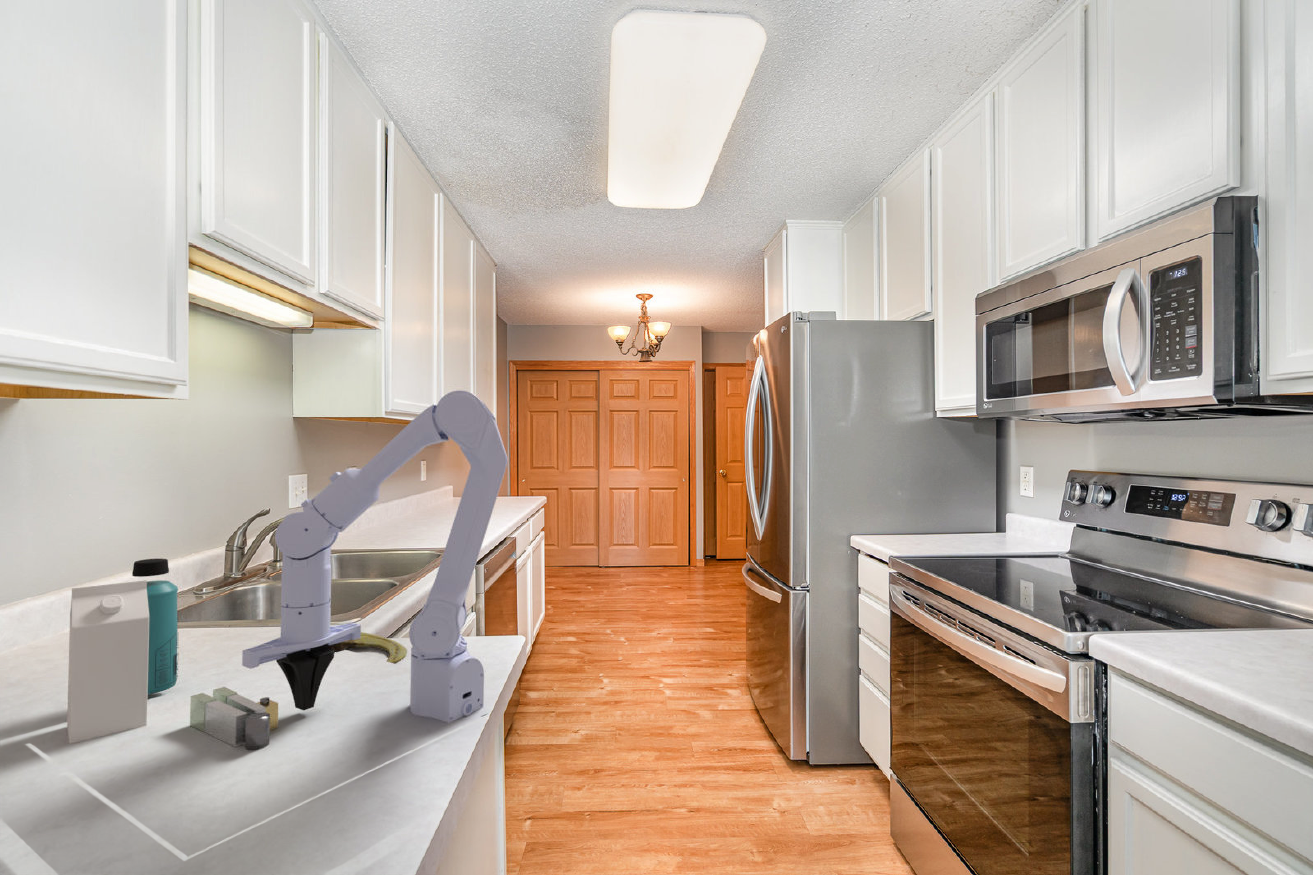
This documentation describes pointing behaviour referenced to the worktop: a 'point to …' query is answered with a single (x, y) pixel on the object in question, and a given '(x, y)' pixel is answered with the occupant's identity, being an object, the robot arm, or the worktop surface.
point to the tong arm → (237, 701)
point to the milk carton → (108, 660)
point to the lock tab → (271, 711)
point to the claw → (375, 641)
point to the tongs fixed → (229, 722)
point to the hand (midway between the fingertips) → (304, 707)
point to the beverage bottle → (160, 625)
